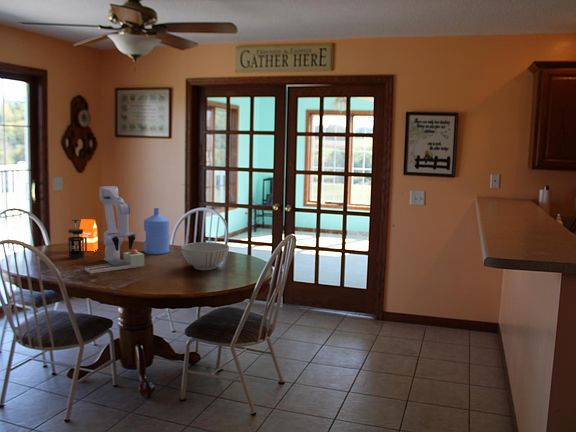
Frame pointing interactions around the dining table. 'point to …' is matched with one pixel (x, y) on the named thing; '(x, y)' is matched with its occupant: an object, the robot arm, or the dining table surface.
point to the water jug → (156, 234)
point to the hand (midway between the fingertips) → (123, 249)
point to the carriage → (116, 259)
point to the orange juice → (89, 234)
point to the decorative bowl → (205, 254)
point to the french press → (73, 253)
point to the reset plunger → (133, 251)
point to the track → (129, 262)
